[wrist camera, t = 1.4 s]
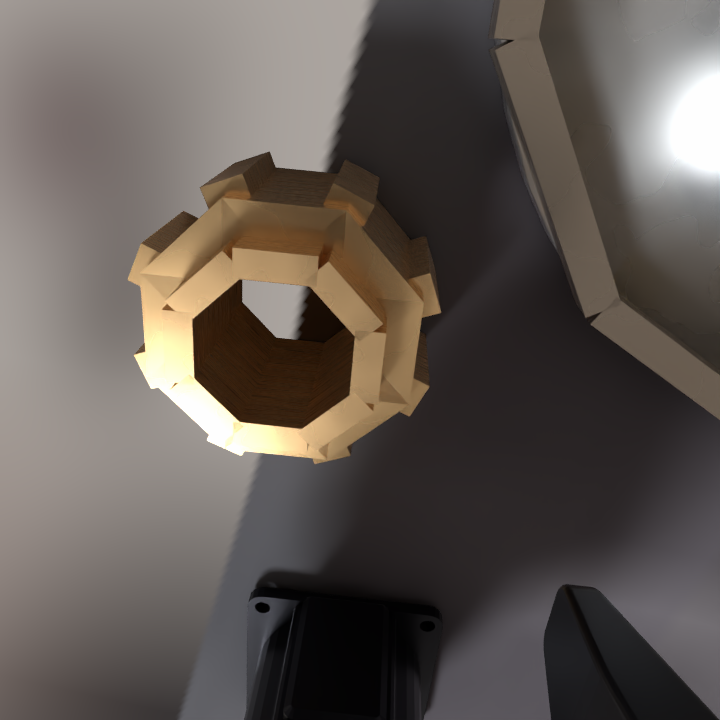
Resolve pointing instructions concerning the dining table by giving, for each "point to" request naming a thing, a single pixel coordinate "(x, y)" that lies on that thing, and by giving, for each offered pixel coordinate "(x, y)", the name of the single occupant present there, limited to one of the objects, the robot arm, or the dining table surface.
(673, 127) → the carrier
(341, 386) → the planet gear
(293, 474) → the dining table surface
